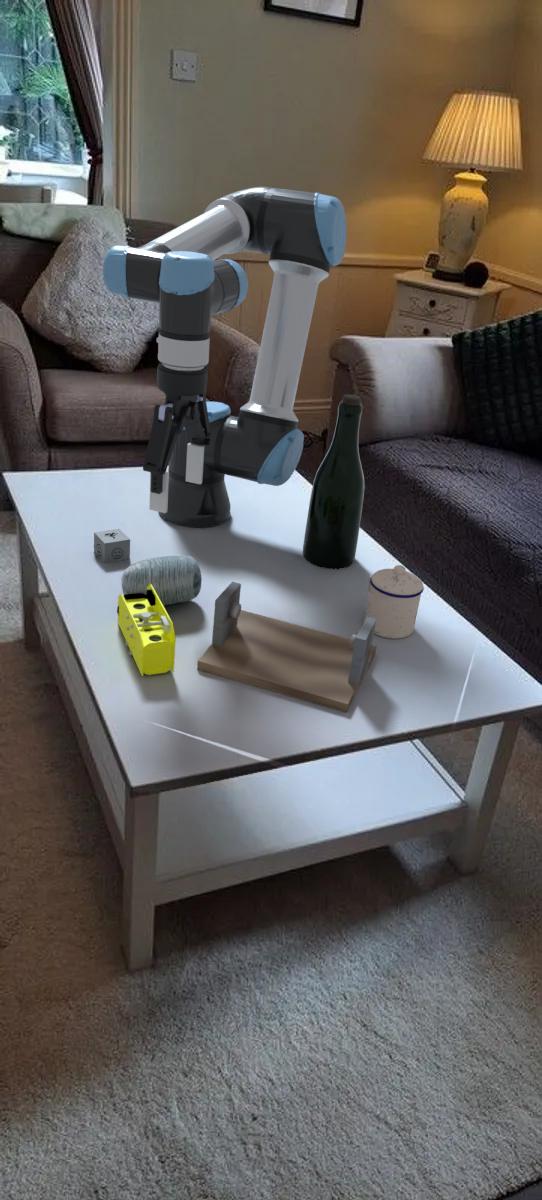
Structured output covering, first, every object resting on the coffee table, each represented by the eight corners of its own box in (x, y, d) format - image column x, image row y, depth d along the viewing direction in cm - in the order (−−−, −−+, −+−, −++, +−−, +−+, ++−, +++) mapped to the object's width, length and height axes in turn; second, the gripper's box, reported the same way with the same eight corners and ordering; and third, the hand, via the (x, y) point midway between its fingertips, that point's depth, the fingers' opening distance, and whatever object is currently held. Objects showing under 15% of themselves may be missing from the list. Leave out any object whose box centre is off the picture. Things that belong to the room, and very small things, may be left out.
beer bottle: (362, 569, 168) (391, 404, 153) (313, 573, 165) (337, 405, 149) (341, 546, 177) (365, 387, 161) (293, 549, 173) (314, 387, 157)
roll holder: (240, 617, 147) (244, 568, 143) (375, 653, 141) (384, 603, 137) (197, 668, 132) (200, 615, 128) (346, 712, 126) (356, 658, 122)
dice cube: (118, 552, 164) (119, 528, 162) (129, 563, 161) (130, 539, 159) (93, 556, 162) (94, 532, 160) (104, 567, 158) (104, 543, 156)
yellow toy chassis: (176, 676, 130) (179, 628, 126) (139, 680, 128) (141, 633, 124) (149, 622, 143) (151, 578, 139) (115, 626, 141) (116, 581, 137)
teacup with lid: (424, 635, 148) (438, 576, 143) (380, 644, 144) (392, 583, 139) (387, 602, 157) (398, 545, 152) (344, 609, 154) (354, 551, 148)
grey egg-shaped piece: (200, 577, 154) (182, 531, 148) (215, 603, 146) (197, 555, 140) (129, 607, 152) (108, 562, 146) (141, 635, 144) (119, 588, 138)
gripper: (193, 344, 139) (187, 467, 150) (120, 378, 119) (119, 518, 129) (236, 351, 138) (227, 476, 148) (170, 387, 117) (164, 529, 127)
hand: (176, 496), depth 139 cm, fingers open, 13 cm apart
